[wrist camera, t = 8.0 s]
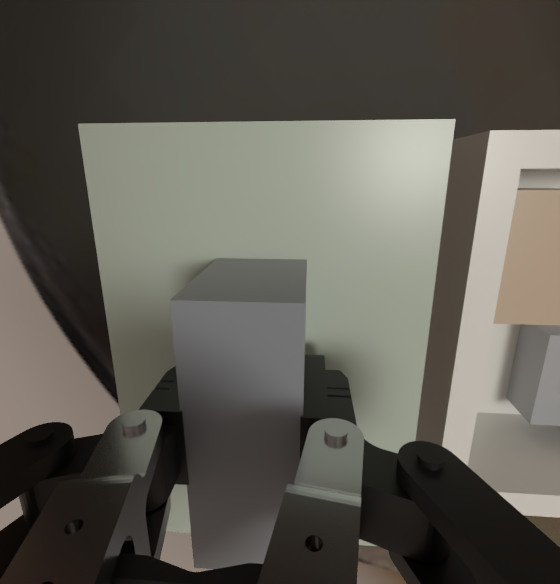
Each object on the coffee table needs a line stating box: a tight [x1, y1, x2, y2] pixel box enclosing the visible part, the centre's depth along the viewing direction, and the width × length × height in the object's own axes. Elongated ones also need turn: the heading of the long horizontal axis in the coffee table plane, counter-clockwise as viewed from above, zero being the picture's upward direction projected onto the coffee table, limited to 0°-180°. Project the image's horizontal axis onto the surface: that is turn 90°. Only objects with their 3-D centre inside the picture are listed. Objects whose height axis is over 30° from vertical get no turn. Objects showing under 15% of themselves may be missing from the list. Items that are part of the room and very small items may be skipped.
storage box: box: [415, 130, 560, 517], centre depth 18 cm, size 16×11×7 cm
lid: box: [78, 119, 456, 569], centre depth 13 cm, size 16×11×7 cm
